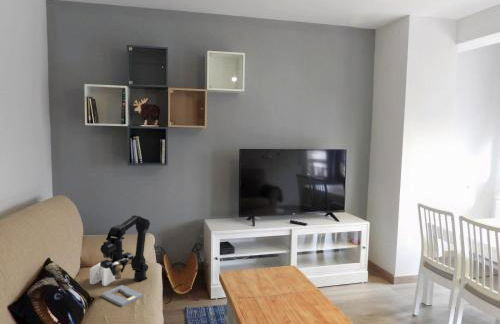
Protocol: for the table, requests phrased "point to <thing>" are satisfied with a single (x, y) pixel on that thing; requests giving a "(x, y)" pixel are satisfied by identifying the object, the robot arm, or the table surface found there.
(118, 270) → the peg
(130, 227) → the robot arm
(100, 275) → the cable organizer
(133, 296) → the keyhole board
